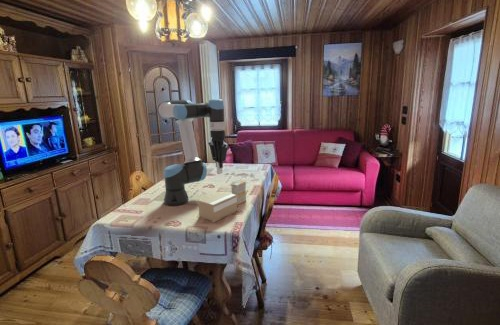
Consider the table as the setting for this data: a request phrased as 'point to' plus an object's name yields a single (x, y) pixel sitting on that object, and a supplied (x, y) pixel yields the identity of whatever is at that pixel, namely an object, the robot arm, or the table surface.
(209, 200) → the lid
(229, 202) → the carton
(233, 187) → the supplement box
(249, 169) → the table surface
